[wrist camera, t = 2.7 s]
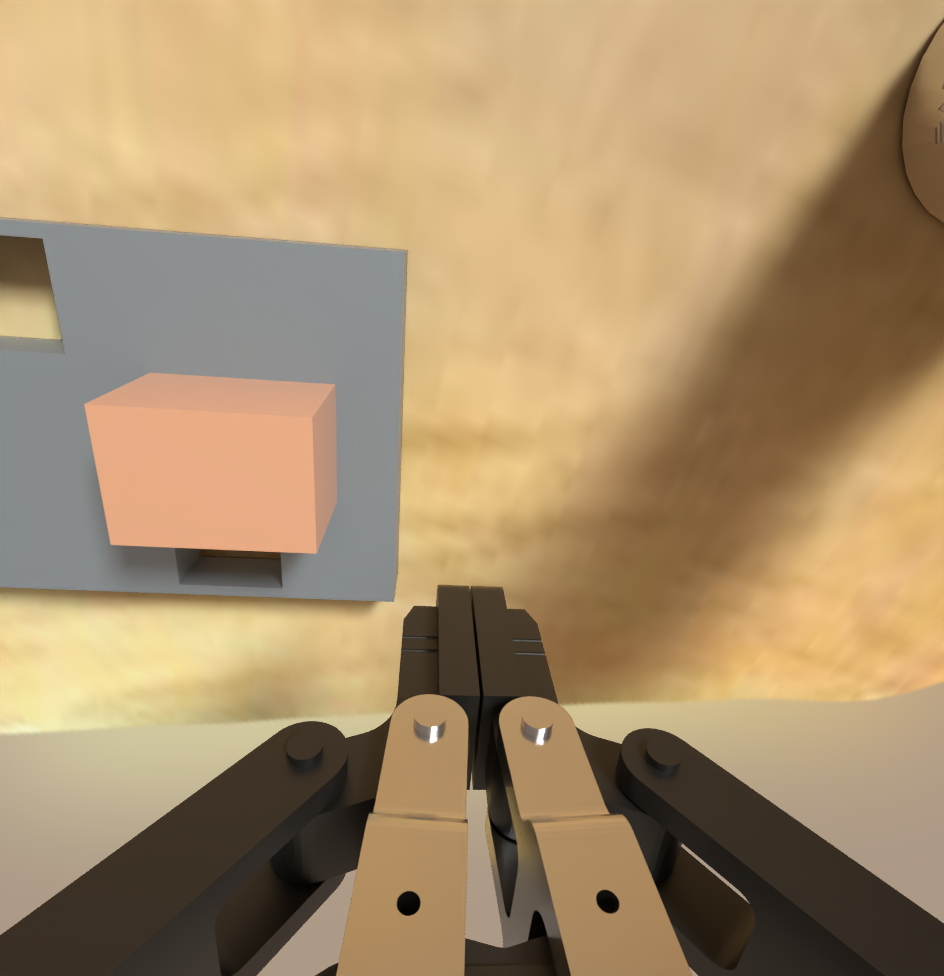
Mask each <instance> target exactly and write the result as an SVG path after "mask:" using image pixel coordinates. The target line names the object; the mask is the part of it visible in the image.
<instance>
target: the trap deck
mask: <svg viewBox="0 0 944 976" xmlns="http://www.w3.org/2000/svg"><path fill="white" fill-rule="evenodd" d="M0 235H4V236H17V237H30V238H42V239H43V244H44V249H45V254H46V259H47V264H48V269H49V274H50V279H51V285H52V290H53V295H54V300H55V305H56V310H57V315H58V320H59V325H60V331H61V336H62V340H53V339H38V338H23V337H8V336H0V587H8V588H35V589H62V590H89V591H116V592H143V593H169V594H196V595H223V596H250V597H277V598H304V599H331V600H358V601H385V602H394V597H395V589H396V582H397V574H398V544H399V512H400V479H401V447H402V414H403V382H404V349H405V316H406V284H407V251H408V250H399V249H387V248H375V247H362V246H350V245H337V244H325V243H313V242H300V241H288V240H275V239H263V238H251V237H238V236H226V235H213V234H201V233H189V232H176V231H164V230H151V229H139V228H127V227H114V226H102V225H89V224H77V223H65V222H52V221H40V220H27V219H15V218H3V217H0ZM148 373H164V374H179V375H195V376H211V377H227V378H242V379H258V380H274V381H290V382H305V383H321V384H336V444H337V503H336V505H335V508H334V511H333V513H332V516H331V518H330V521H329V523H328V526H327V528H326V531H325V534H324V536H323V539H322V541H321V544H320V546H319V549H318V552H317V554H311V553H288V552H280V553H281V559H257V558H233V557H209V556H201V554H200V549H194V548H171V547H147V546H124V545H111V543H110V538H109V533H108V528H107V522H106V517H105V512H104V506H103V501H102V496H101V490H100V485H99V480H98V475H97V469H96V464H95V459H94V453H93V448H92V443H91V437H90V432H89V427H88V422H87V416H86V411H85V406H84V404H86V403H88V402H90V401H92V400H94V399H96V398H98V397H100V396H102V395H104V394H106V393H109V392H111V391H113V390H115V389H117V388H119V387H121V386H123V385H125V384H127V383H129V382H131V381H133V380H136V379H138V378H140V377H142V376H144V375H146V374H148Z"/></svg>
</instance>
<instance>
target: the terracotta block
mask: <svg viewBox="0 0 944 976" xmlns="http://www.w3.org/2000/svg"><path fill="white" fill-rule="evenodd" d="M84 406H85V411H86V416H87V422H88V427H89V432H90V437H91V443H92V448H93V453H94V459H95V464H96V469H97V475H98V480H99V485H100V490H101V496H102V501H103V506H104V512H105V517H106V522H107V528H108V533H109V538H110V543H111V545H124V546H147V547H171V548H194V549H218V550H241V551H265V552H288V553H311V554H317V552H318V549H319V546H320V544H321V541H322V539H323V536H324V534H325V531H326V528H327V526H328V523H329V521H330V518H331V516H332V513H333V511H334V508H335V505H336V503H337V444H336V384H321V383H305V382H290V381H274V380H258V379H242V378H227V377H211V376H195V375H179V374H164V373H148V374H146V375H144V376H142V377H140V378H138V379H136V380H133V381H131V382H129V383H127V384H125V385H123V386H121V387H119V388H117V389H115V390H113V391H111V392H109V393H106V394H104V395H102V396H100V397H98V398H96V399H94V400H92V401H90V402H88V403H86V404H84Z"/></svg>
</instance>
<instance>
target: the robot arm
mask: <svg viewBox="0 0 944 976" xmlns="http://www.w3.org/2000/svg"><path fill="white" fill-rule="evenodd" d="M902 150H903V156H904V163H905V169H906V174H907V176H908V179H909V181H910V184H911V186H912V189H913V191H914V194H915V195H916V197H917V198H918V199H919V201H920V202H921V203H922V204H923V206H924V207H925V208H926V210H927V211H928V212H929V213H930V214H932V215H933V216H935V217H936V218H937V219H939V220H940V221H941V222H943V223H944V23H943V24H942V25H941V27H940V28H939V30H938V32H937V33H936V35H935V37H934V39H933V40H932V42H931V44H930V45H929V47H928V49H927V50H926V52H925V54H924V56H923V57H922V60H921V62H920V65H919V67H918V70H917V72H916V75H915V77H914V80H913V82H912V85H911V87H910V91H909V96H908V100H907V105H906V109H905V114H904V118H903V137H902ZM471 772H472V783H473V789H474V790H486V792H487V803H488V808H487V816H486V823H485V828H486V829H485V830H486V836H487V842H488V849H489V855H490V861H491V867H492V873H493V879H494V885H495V891H496V897H497V903H498V909H499V915H500V921H501V928H502V936H503V948H500V947H495V946H491V945H488V944H484V943H480V942H477V941H473V940H470V939H466V938H465V924H466V923H465V922H466V884H467V883H466V882H467V842H468V822H467V819H466V792H467V790H469V789H470V781H471ZM682 843H683V844H684V845H685V846H686V847H688V848H689V849H690V850H691V851H692V852H694V853H695V854H696V855H697V856H698V857H700V858H701V859H702V860H703V861H704V862H706V863H707V864H708V865H709V866H710V867H712V868H713V869H714V870H715V871H716V872H717V873H719V874H720V875H721V876H722V877H724V878H725V879H726V880H727V881H728V882H729V883H731V884H732V885H733V886H734V887H735V888H737V889H738V890H739V891H740V892H741V893H742V894H743V895H744V896H745V897H746V899H747V900H748V901H749V903H750V904H749V903H748V902H746V901H745V900H744V899H743V898H742V897H740V896H739V895H738V894H737V893H736V892H735V891H733V890H732V889H731V888H730V887H729V886H727V885H726V884H725V883H724V882H723V881H721V880H720V879H719V878H718V877H717V876H715V875H714V874H713V873H712V872H711V871H709V870H708V869H707V868H706V867H705V866H704V865H702V864H701V863H700V862H699V861H698V860H696V859H695V858H694V857H693V856H692V855H691V854H689V853H688V852H687V851H686V850H685V849H683V848H682V847H681V845H682ZM356 869H357V873H356V878H355V883H354V888H353V893H352V898H351V903H350V908H349V914H348V918H347V923H346V929H345V933H344V939H343V944H342V948H341V954H340V959H339V963H337V964H334V965H332V966H330V967H328V968H327V969H325V970H324V971H322V972H320V973H319V974H317V975H316V976H692V973H691V971H690V968H691V969H692V970H693V971H694V972H695V973H696V974H697V975H698V976H944V923H942V922H941V921H939V920H938V919H937V918H935V917H934V916H932V915H931V914H929V913H928V912H927V911H925V910H924V909H922V908H921V907H919V906H918V905H917V904H915V903H914V902H912V901H911V900H910V899H908V898H906V897H905V896H904V895H902V894H901V893H899V892H898V891H897V890H895V889H894V888H892V887H891V886H890V885H888V884H887V883H885V882H884V881H882V880H881V879H880V878H878V877H877V876H875V875H874V874H872V873H871V872H870V871H868V870H867V869H865V868H864V867H863V866H861V865H860V864H858V863H857V862H855V861H854V860H852V859H851V858H850V857H848V856H847V855H845V854H844V853H843V852H841V851H840V850H838V849H837V848H835V847H834V846H833V845H831V844H830V843H828V842H827V841H826V840H824V839H823V838H821V837H820V836H818V835H817V834H816V833H814V832H813V831H811V830H810V829H808V828H807V827H805V826H804V825H803V824H801V823H800V822H798V821H797V820H796V819H794V818H793V817H791V816H790V815H788V814H787V813H786V812H784V811H783V810H781V809H780V808H779V807H777V806H776V805H774V804H773V803H771V802H770V801H769V800H767V799H766V798H764V797H763V796H761V795H760V794H758V793H757V792H756V791H754V790H753V789H751V788H750V787H749V786H747V785H746V784H744V783H743V782H742V781H740V780H739V779H737V778H736V777H734V776H733V775H732V774H730V773H729V772H727V771H726V770H724V769H723V768H722V767H720V766H719V765H717V764H716V763H714V762H713V761H712V760H710V759H709V758H707V757H706V756H704V755H703V754H702V753H700V752H699V751H697V750H696V749H695V748H693V747H691V746H690V745H689V744H687V743H686V742H685V741H683V740H682V739H680V738H678V737H677V736H675V735H673V734H670V733H668V732H665V731H662V730H657V729H651V728H645V729H638V730H636V731H633V732H631V733H629V734H628V735H627V736H626V737H625V738H624V740H623V742H622V744H619V743H615V742H612V741H609V740H605V739H602V738H598V737H595V736H592V735H589V734H587V733H585V732H583V731H581V730H580V729H578V728H577V727H575V725H574V722H573V720H572V718H571V716H570V715H569V714H568V713H567V711H566V710H565V709H563V708H562V707H561V706H560V705H558V701H557V697H556V694H555V690H554V686H553V682H552V678H551V675H550V671H549V667H548V663H547V659H546V656H545V652H544V648H543V644H542V643H541V636H540V633H539V629H538V625H537V623H536V622H535V621H534V620H533V618H532V617H531V616H530V615H529V614H528V613H527V612H526V611H525V610H522V609H507V607H506V601H505V596H504V591H503V588H502V587H485V586H471V588H470V589H469V586H455V585H438V588H437V601H436V607H431V606H414V607H413V608H412V609H411V611H410V612H409V613H408V615H407V616H406V617H405V619H404V623H403V636H402V648H401V661H400V673H399V686H398V698H397V705H396V708H395V710H394V712H393V714H392V715H391V716H390V718H389V719H388V720H387V721H386V722H384V723H383V724H382V725H381V726H379V727H377V728H376V729H374V730H371V731H369V732H366V733H363V734H359V735H356V736H351V737H348V738H345V737H344V735H343V734H342V733H341V732H340V731H339V730H338V729H337V728H335V727H334V726H332V725H329V724H327V723H323V722H317V721H308V722H301V723H297V724H293V725H291V726H288V727H286V728H284V729H282V730H281V731H279V732H278V733H276V734H275V735H273V736H272V737H271V738H269V739H268V740H267V741H265V742H264V743H263V744H261V745H260V746H258V747H257V748H256V749H254V750H253V751H252V752H250V753H249V754H247V755H246V756H245V757H243V758H242V759H241V760H239V761H238V762H237V763H235V764H234V765H233V766H231V767H230V768H228V769H227V770H226V771H224V772H223V773H222V774H220V775H219V776H218V777H216V778H215V779H213V780H212V781H211V782H209V783H208V784H207V785H205V786H204V787H202V788H201V789H200V790H198V791H197V792H196V793H194V794H193V795H192V796H190V797H189V798H187V799H186V800H185V801H183V802H182V803H180V804H179V805H178V806H176V807H175V808H174V809H172V810H171V811H170V812H168V813H167V814H166V815H164V816H163V817H161V818H160V819H159V820H157V821H156V822H155V823H153V824H152V825H150V826H149V827H148V828H146V829H145V830H144V831H142V832H141V833H140V834H138V835H137V836H135V837H134V838H133V839H132V840H130V841H129V842H128V843H126V844H124V845H123V846H122V847H120V848H119V849H118V850H116V851H115V852H114V853H112V854H111V855H109V856H108V857H107V858H106V859H104V860H103V861H101V862H100V863H99V864H97V865H96V866H94V867H93V868H92V869H90V870H89V871H88V872H86V873H85V874H83V875H82V876H81V877H79V878H78V879H77V880H75V881H74V882H73V883H71V884H70V885H68V886H67V887H66V888H65V889H63V890H62V891H60V892H59V893H58V894H56V895H55V896H53V897H52V898H51V899H49V900H48V901H47V902H45V903H44V904H42V905H41V906H40V907H38V908H37V909H36V910H34V911H33V912H32V913H30V914H29V915H27V916H26V917H25V918H23V919H22V920H21V921H20V922H18V923H17V924H15V925H14V926H12V927H11V928H10V929H9V930H7V931H6V932H4V933H3V934H1V935H0V976H256V975H257V974H258V973H259V972H260V971H261V970H262V969H263V967H265V966H266V965H267V964H268V962H269V961H270V960H271V959H272V958H273V957H274V956H275V955H276V954H277V953H278V952H279V950H280V949H281V948H282V947H283V946H284V945H285V944H286V943H287V942H288V941H289V940H290V939H291V937H292V936H293V935H294V934H295V933H296V932H297V931H298V930H299V929H300V928H301V927H302V925H303V924H304V923H305V922H306V921H307V920H308V919H309V918H310V917H311V916H312V915H313V914H314V913H315V911H316V910H317V909H318V908H319V907H320V906H321V905H322V904H323V903H324V902H325V901H326V900H327V898H328V897H329V896H330V895H331V894H332V893H333V892H334V891H335V890H336V889H337V887H338V886H339V885H340V883H341V882H342V880H343V879H344V877H345V874H346V873H347V872H350V871H353V870H356ZM689 967H690V968H689Z"/></svg>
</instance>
